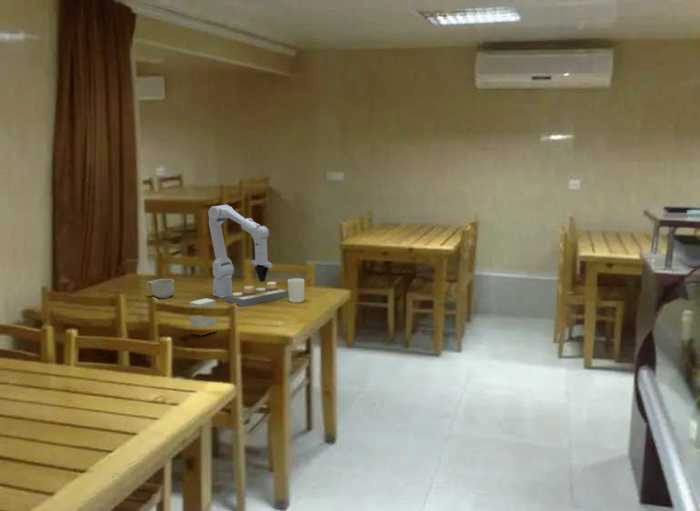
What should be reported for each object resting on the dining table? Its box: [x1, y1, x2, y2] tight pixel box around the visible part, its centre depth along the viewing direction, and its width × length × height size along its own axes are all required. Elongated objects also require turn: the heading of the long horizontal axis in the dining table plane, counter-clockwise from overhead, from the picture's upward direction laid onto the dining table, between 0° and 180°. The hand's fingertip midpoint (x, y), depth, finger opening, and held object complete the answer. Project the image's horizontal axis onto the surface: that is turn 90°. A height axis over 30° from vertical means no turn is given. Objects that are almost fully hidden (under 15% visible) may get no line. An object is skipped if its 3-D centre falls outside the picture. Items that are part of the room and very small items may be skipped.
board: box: [225, 287, 289, 308], centre depth 314 cm, size 14×26×3 cm, turn 132°
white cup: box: [287, 277, 306, 304], centre depth 309 cm, size 8×8×10 cm
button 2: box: [243, 285, 255, 295], centre depth 313 cm, size 4×4×4 cm
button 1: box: [232, 291, 243, 298], centre depth 309 cm, size 4×4×4 cm
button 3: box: [255, 287, 266, 293], centre depth 318 cm, size 4×4×4 cm
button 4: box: [266, 281, 277, 291], centre depth 322 cm, size 4×4×4 cm
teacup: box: [146, 278, 175, 299], centre depth 323 cm, size 14×11×8 cm
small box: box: [188, 298, 218, 328], centre depth 259 cm, size 8×6×13 cm
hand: (262, 281), depth 310 cm, fingers closed
